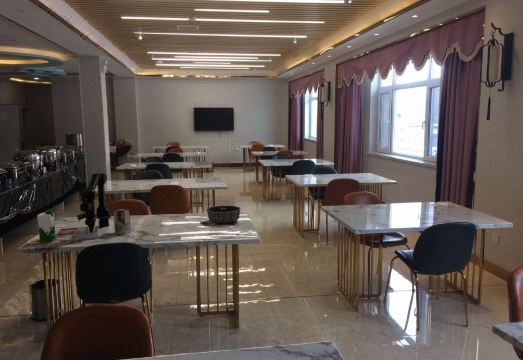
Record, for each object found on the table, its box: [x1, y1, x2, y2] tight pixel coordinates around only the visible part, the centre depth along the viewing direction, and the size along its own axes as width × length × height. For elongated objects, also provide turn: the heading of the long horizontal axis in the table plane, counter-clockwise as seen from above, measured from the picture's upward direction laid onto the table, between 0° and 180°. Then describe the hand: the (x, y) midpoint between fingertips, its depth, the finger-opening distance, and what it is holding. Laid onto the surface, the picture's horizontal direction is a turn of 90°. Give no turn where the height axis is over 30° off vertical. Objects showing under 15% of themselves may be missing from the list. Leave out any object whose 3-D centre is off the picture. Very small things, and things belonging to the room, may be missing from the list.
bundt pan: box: [205, 204, 241, 224], centre depth 335 cm, size 26×26×10 cm
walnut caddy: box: [57, 226, 88, 236], centre depth 307 cm, size 19×15×1 cm
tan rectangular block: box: [77, 226, 87, 235], centre depth 294 cm, size 4×4×6 cm
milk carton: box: [36, 209, 56, 243], centre depth 284 cm, size 9×9×20 cm
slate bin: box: [73, 227, 100, 241], centre depth 295 cm, size 14×14×4 cm
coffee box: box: [113, 208, 132, 235], centre depth 303 cm, size 9×6×16 cm
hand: (91, 231), depth 295 cm, fingers open, 9 cm apart
